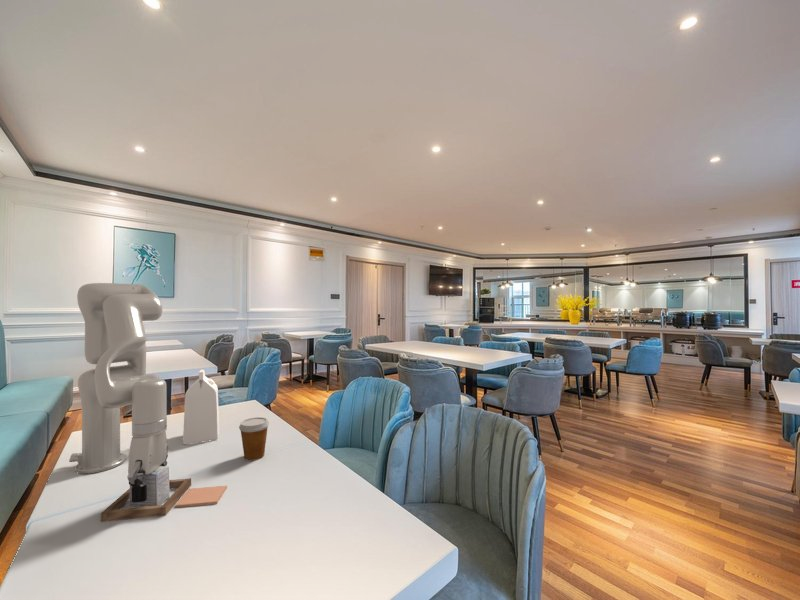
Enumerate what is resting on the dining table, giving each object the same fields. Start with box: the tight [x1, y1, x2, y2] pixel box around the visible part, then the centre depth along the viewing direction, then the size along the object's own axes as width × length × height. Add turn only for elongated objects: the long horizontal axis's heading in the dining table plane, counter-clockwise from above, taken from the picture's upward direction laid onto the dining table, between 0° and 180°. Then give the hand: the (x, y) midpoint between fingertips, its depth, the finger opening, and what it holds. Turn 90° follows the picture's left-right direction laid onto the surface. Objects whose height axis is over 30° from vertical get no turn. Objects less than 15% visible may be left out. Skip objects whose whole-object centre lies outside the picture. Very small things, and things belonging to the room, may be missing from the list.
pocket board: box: [100, 477, 192, 522], centre depth 92 cm, size 14×14×2 cm
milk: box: [182, 369, 220, 445], centre depth 137 cm, size 12×12×26 cm
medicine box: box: [129, 465, 171, 507], centre depth 92 cm, size 8×4×9 cm, turn 84°
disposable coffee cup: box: [238, 416, 270, 461], centre depth 119 cm, size 10×10×12 cm
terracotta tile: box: [175, 485, 228, 508], centre depth 94 cm, size 10×8×1 cm
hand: (149, 491), depth 92 cm, fingers open, 9 cm apart
